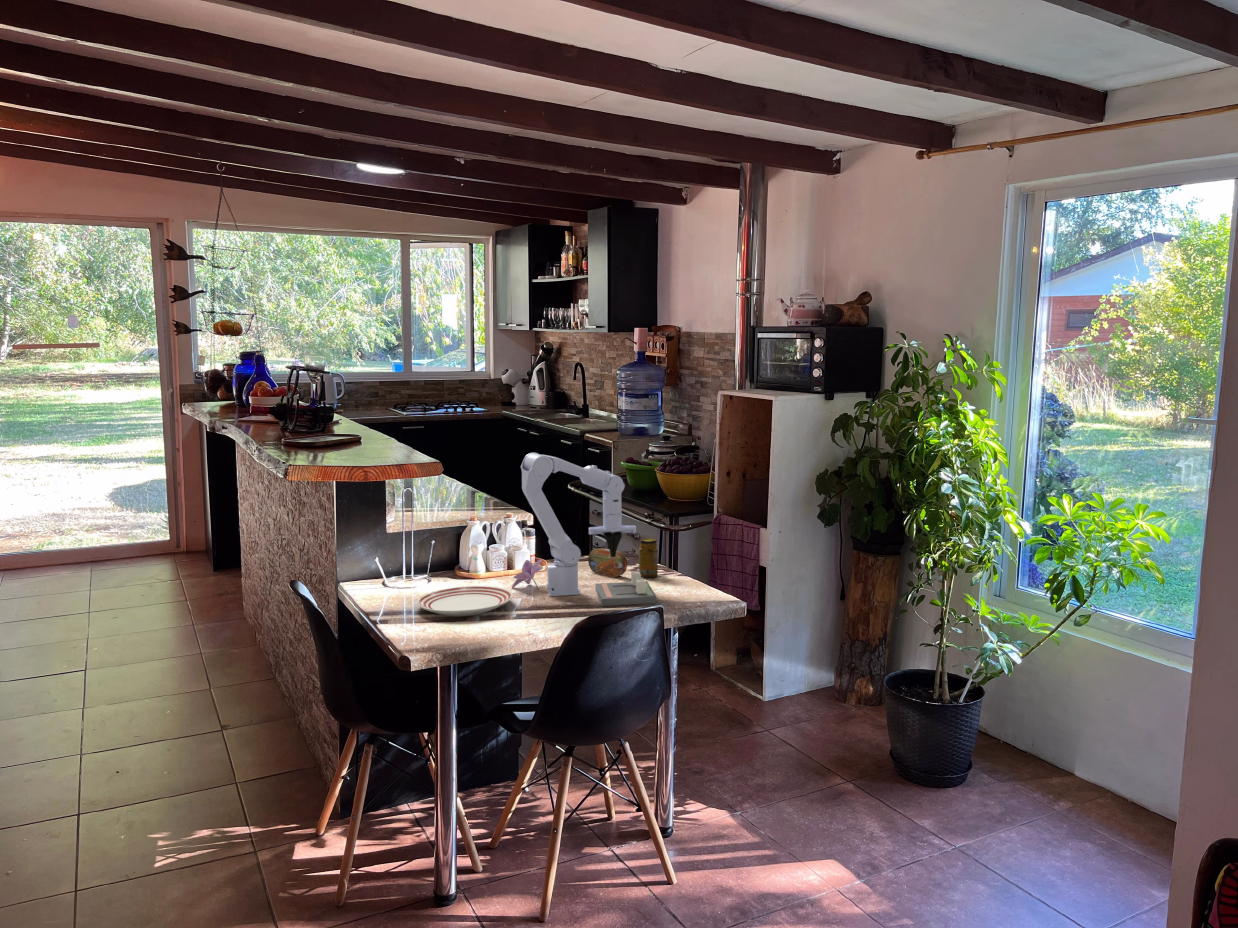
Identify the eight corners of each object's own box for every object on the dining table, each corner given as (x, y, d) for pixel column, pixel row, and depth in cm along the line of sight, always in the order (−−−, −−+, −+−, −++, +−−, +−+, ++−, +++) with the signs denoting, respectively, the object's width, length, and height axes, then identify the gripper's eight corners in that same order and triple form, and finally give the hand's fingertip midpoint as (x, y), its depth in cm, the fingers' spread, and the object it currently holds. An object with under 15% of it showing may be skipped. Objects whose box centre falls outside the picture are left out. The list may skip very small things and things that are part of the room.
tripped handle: (637, 593, 270) (637, 582, 270) (636, 591, 273) (635, 579, 272) (645, 593, 270) (645, 581, 270) (644, 590, 273) (643, 579, 273)
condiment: (649, 572, 304) (649, 536, 302) (667, 577, 297) (666, 540, 296) (632, 575, 299) (632, 539, 298) (650, 581, 293) (649, 544, 291)
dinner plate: (400, 606, 269) (399, 595, 269) (480, 589, 287) (480, 578, 286) (447, 628, 248) (447, 616, 248) (531, 608, 266) (531, 597, 265)
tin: (587, 571, 305) (587, 547, 304) (594, 570, 308) (593, 545, 306) (622, 579, 296) (622, 553, 294) (628, 577, 298) (628, 551, 297)
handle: (632, 585, 279) (632, 574, 278) (631, 583, 282) (631, 571, 281) (640, 585, 279) (640, 574, 279) (639, 582, 282) (639, 571, 282)
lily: (550, 585, 293) (537, 558, 294) (557, 580, 282) (544, 551, 283) (516, 602, 289) (503, 574, 290) (522, 596, 278) (508, 568, 279)
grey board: (601, 605, 266) (601, 598, 266) (595, 589, 283) (595, 583, 283) (656, 602, 269) (656, 595, 268) (647, 587, 285) (647, 580, 285)
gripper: (590, 516, 280) (590, 560, 282) (637, 514, 282) (637, 558, 284) (587, 512, 287) (588, 554, 289) (634, 510, 289) (634, 552, 290)
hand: (612, 556), depth 287 cm, fingers closed
